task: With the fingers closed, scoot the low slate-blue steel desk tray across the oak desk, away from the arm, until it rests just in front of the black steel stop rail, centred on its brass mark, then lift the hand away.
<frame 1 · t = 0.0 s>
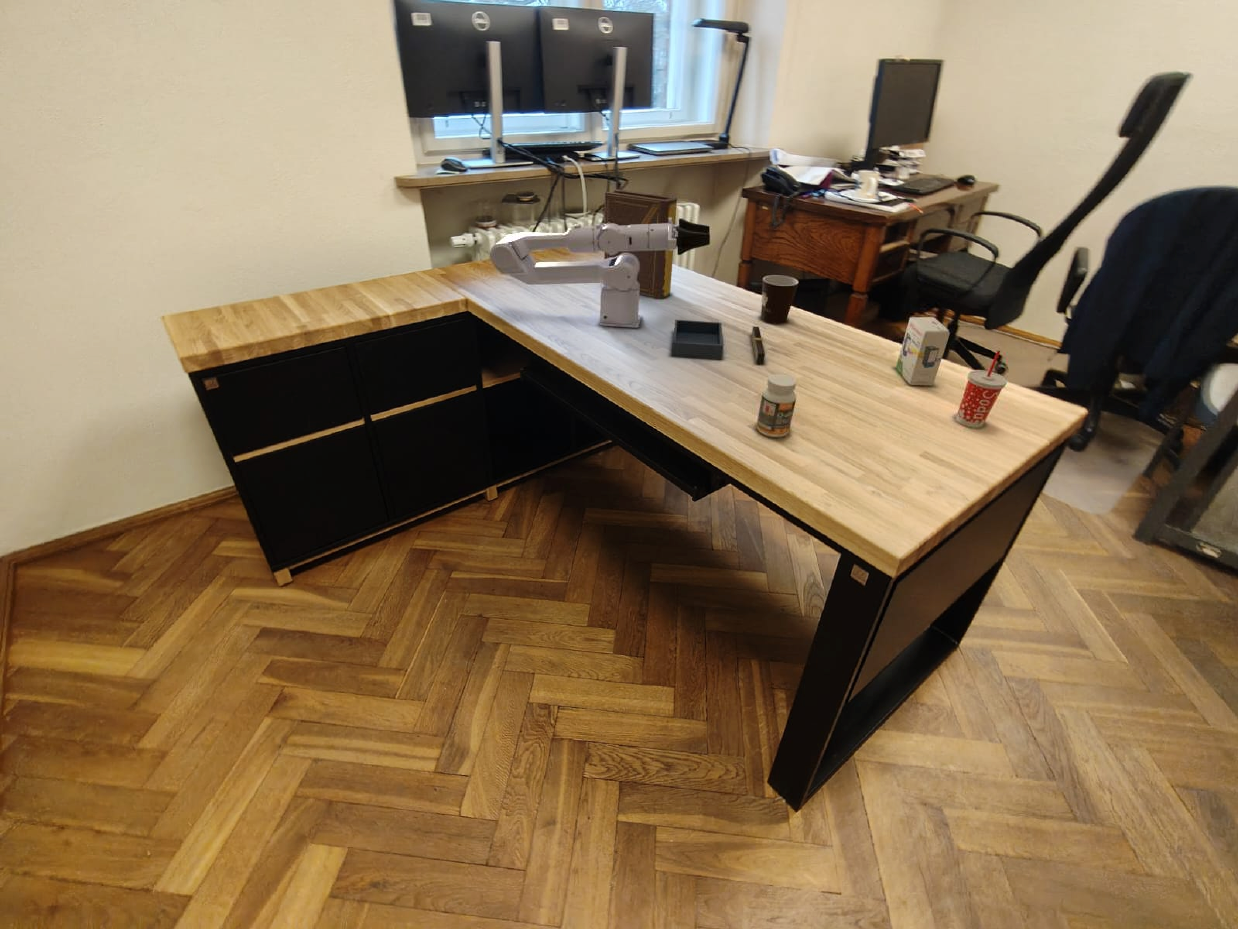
hand: (709, 235, 132), 22 cm above the table, tool horizontal, fingers open, 7 cm apart
pill bottle: (772, 431, 104), on the table
ink box: (912, 377, 124), on the table
book: (633, 289, 167), on the table
beverage cup: (968, 422, 108), on the table
tray: (696, 345, 135), on the table
coffee mug: (773, 318, 151), on the table
stop rail: (756, 349, 133), on the table
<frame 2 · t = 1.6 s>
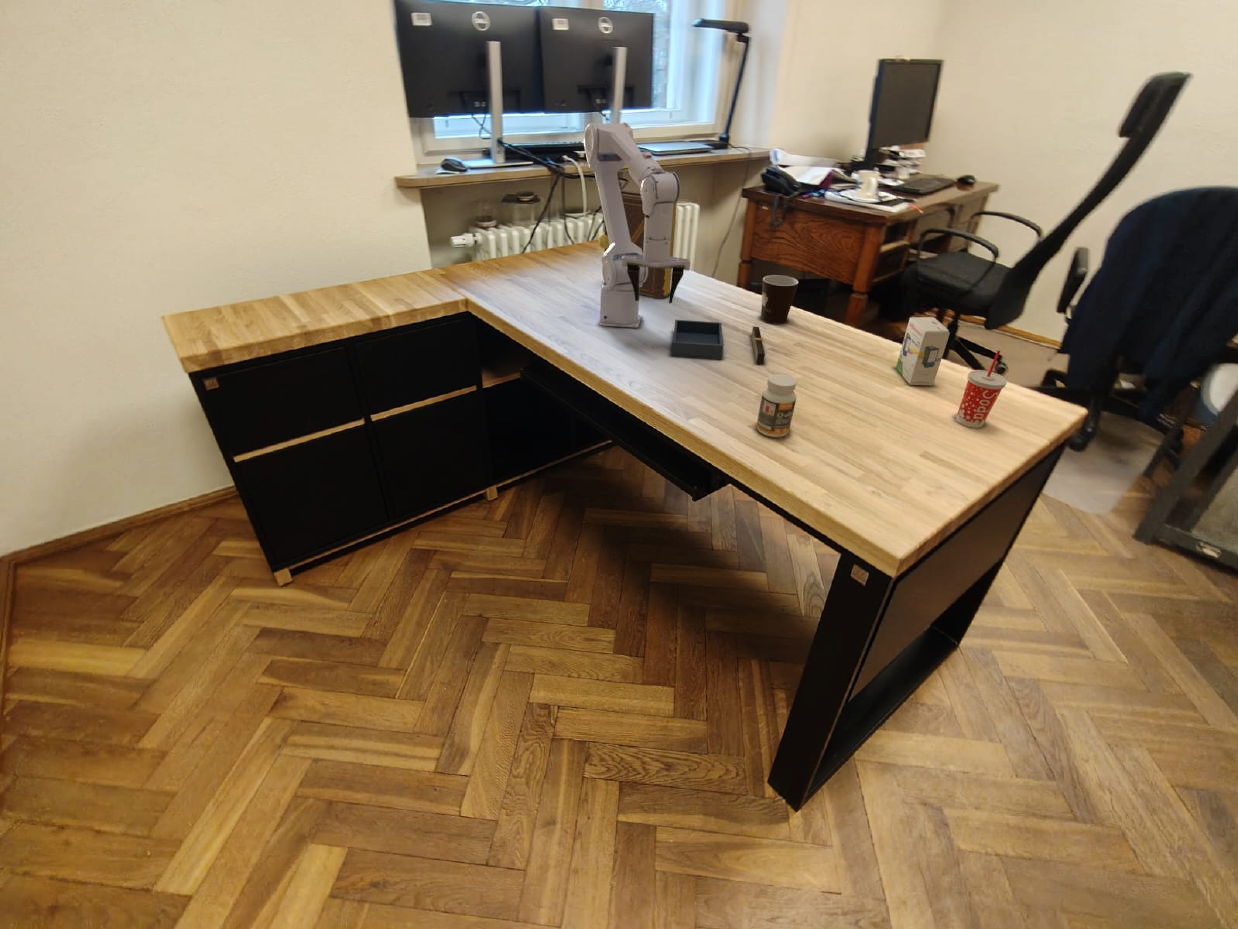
hand: (653, 300, 130), 10 cm above the table, tool pointing down, fingers open, 7 cm apart
nothing on the table moved.
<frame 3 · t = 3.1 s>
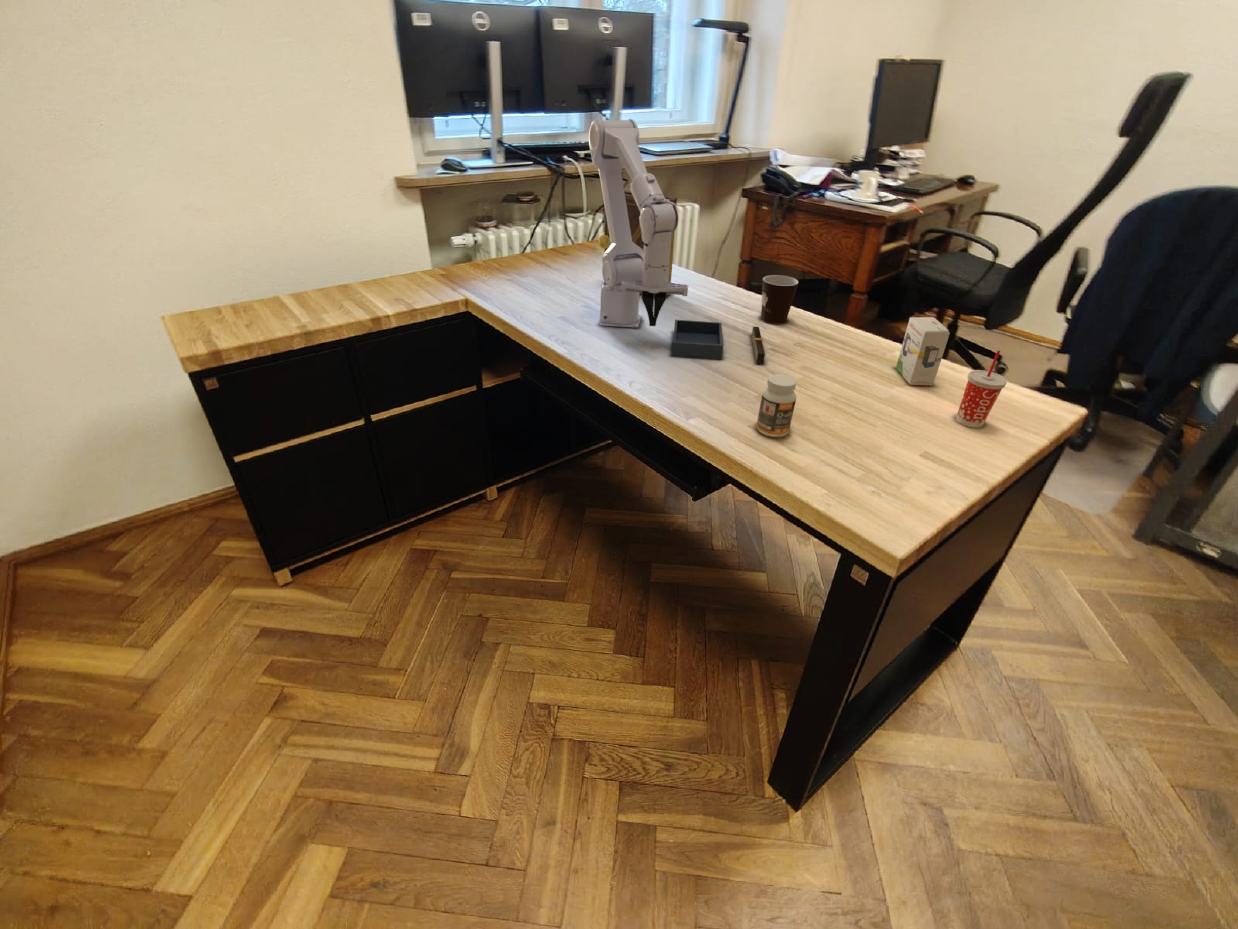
hand: (652, 324, 133), 4 cm above the table, tool pointing down, fingers closed
nothing on the table moved.
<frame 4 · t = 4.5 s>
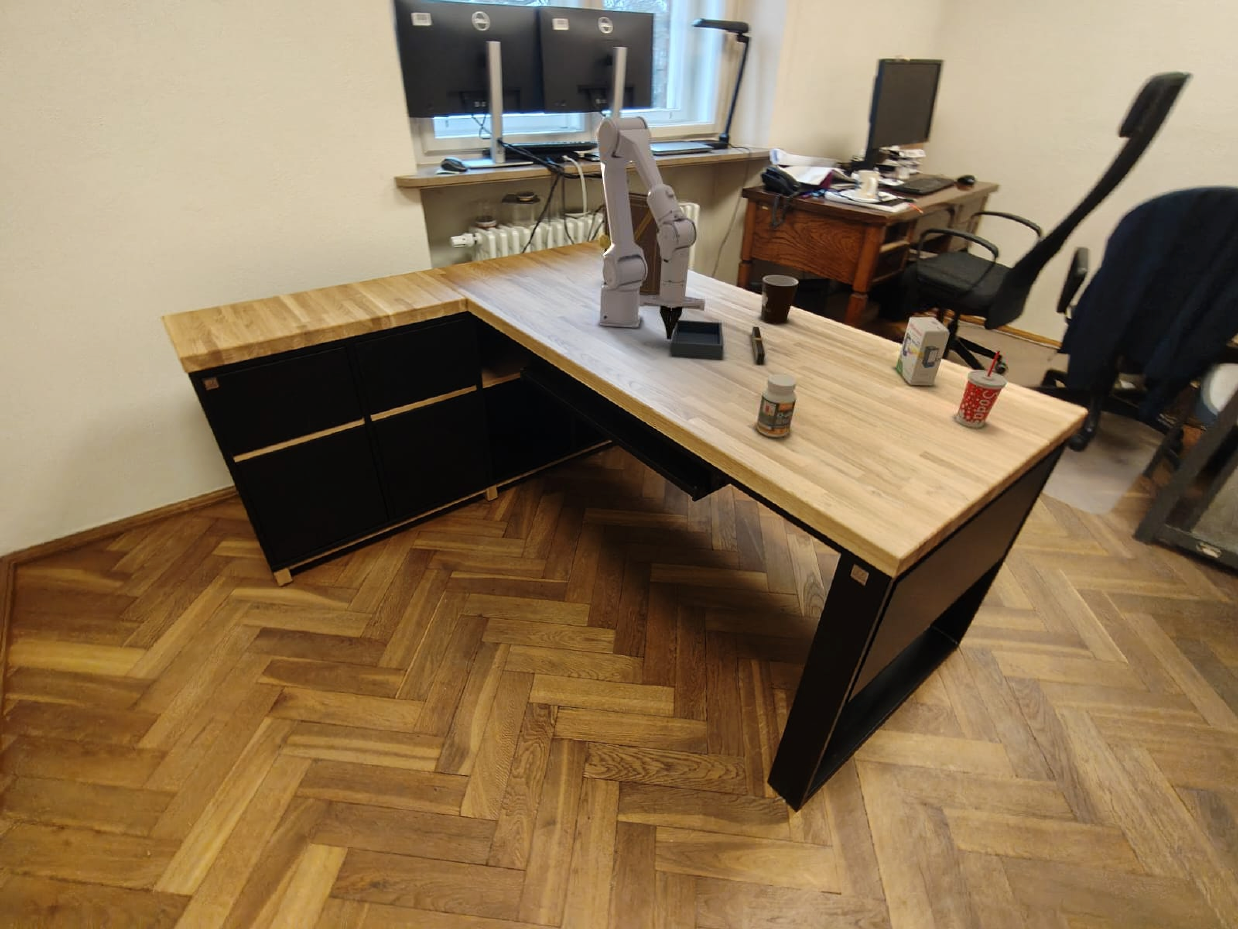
hand: (669, 337, 134), 1 cm above the table, tool pointing down, fingers closed
tray: (696, 345, 135), on the table, touching gripper
everything else where it was.
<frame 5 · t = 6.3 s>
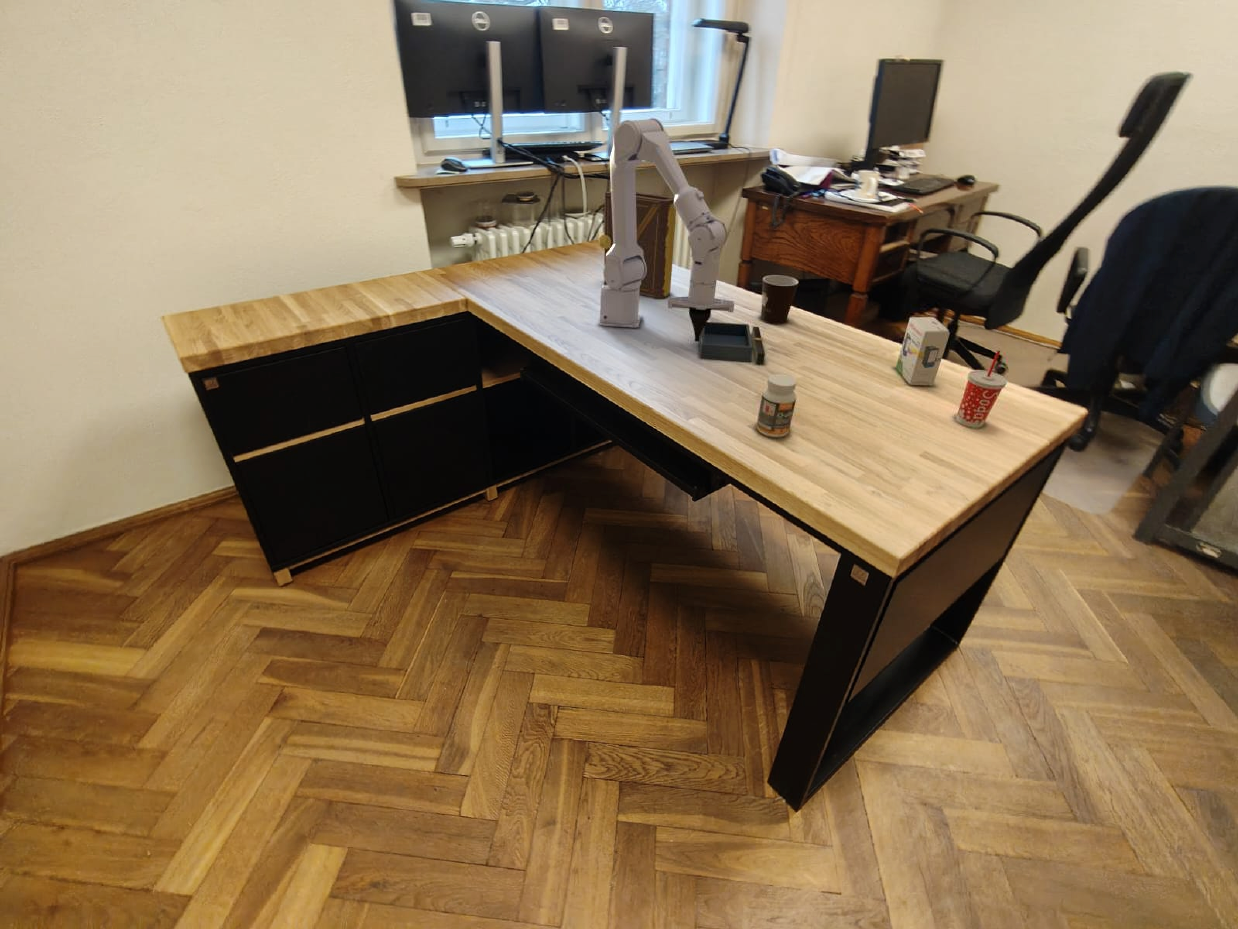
hand: (696, 339, 134), 1 cm above the table, tool pointing down, fingers closed
tray: (724, 347, 134), on the table, touching gripper
everything else where it was.
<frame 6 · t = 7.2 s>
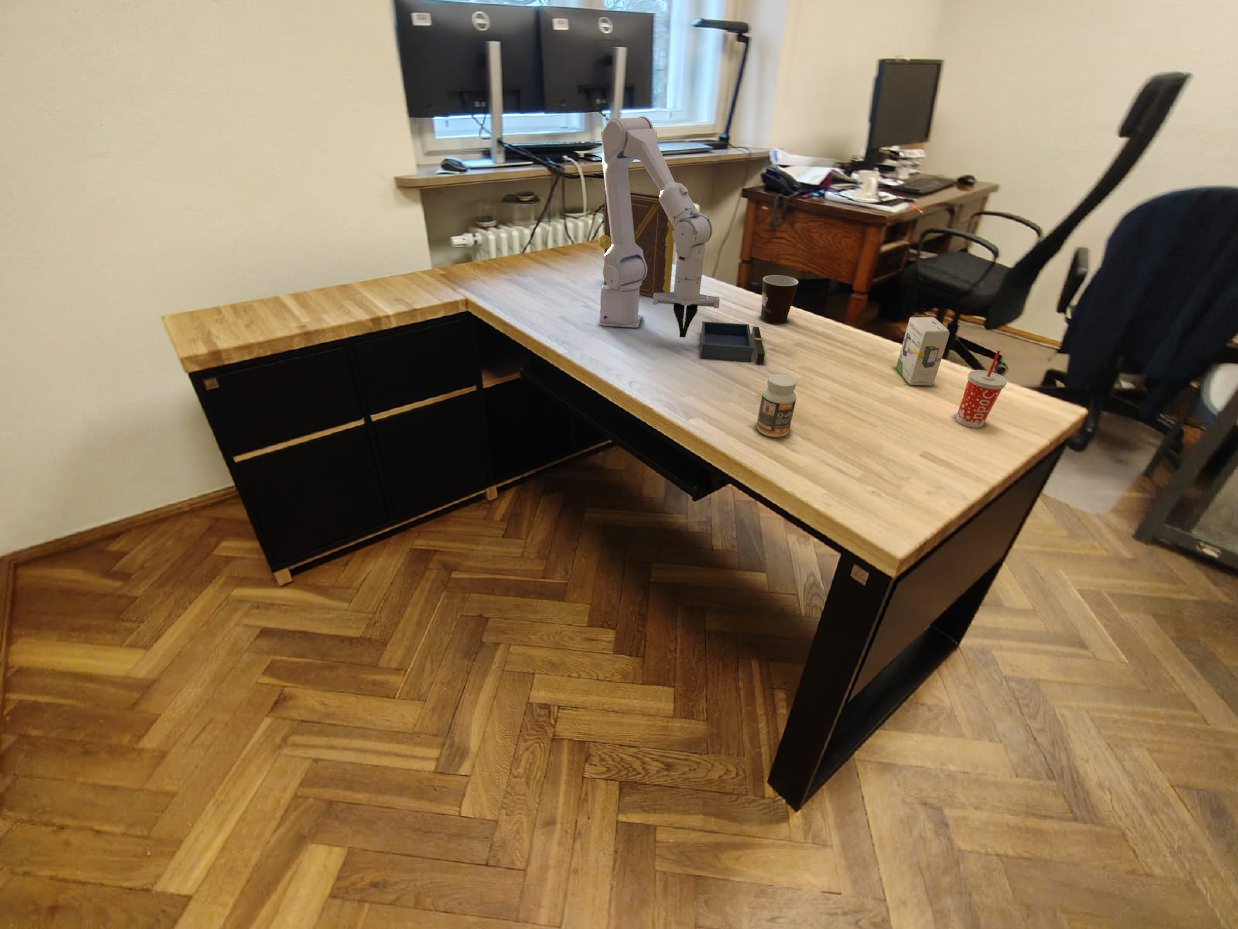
hand: (682, 335, 134), 2 cm above the table, tool pointing down, fingers closed
tray: (724, 347, 134), on the table
everything else where it was.
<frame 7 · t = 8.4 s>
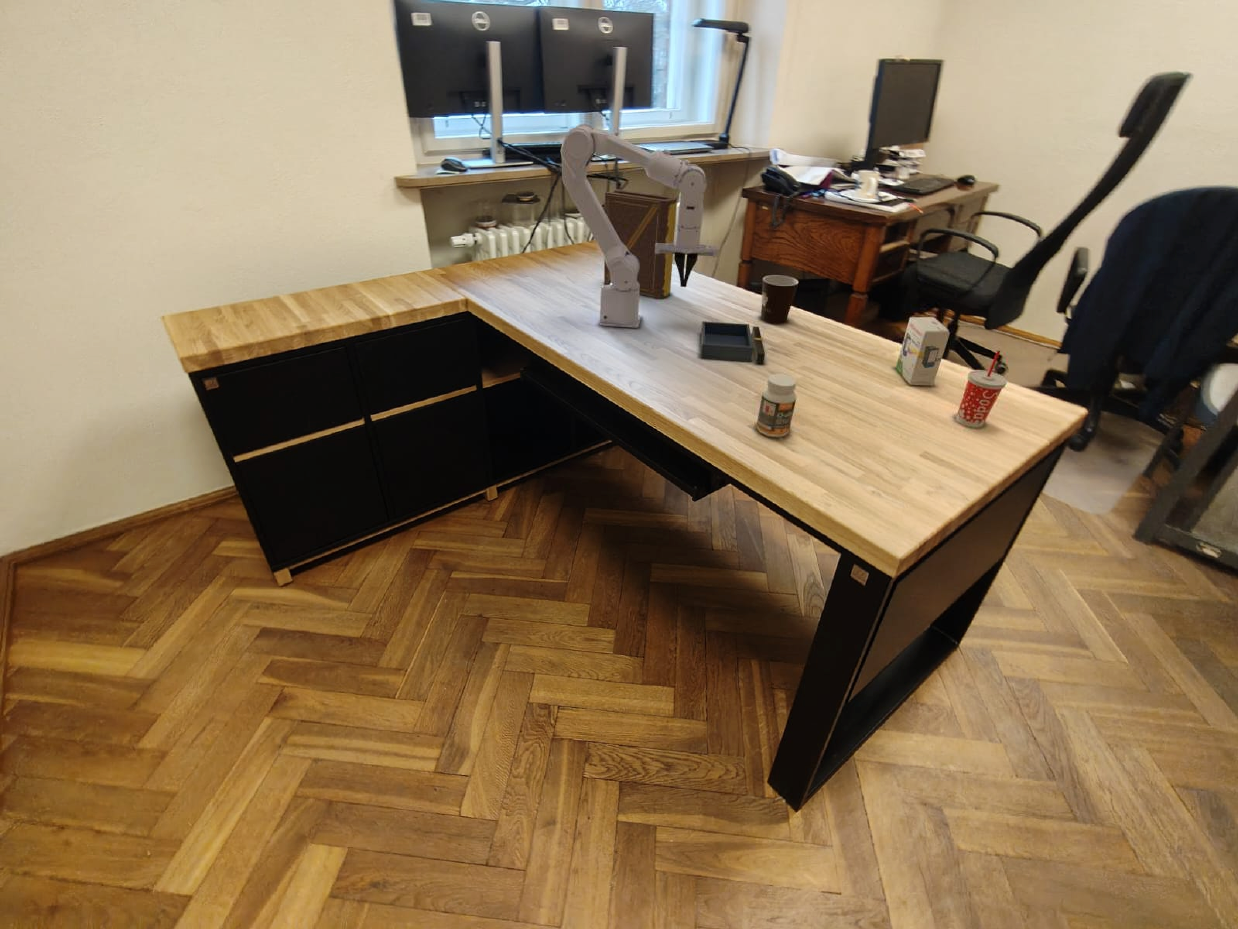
hand: (683, 285, 139), 10 cm above the table, tool pointing down, fingers closed
nothing on the table moved.
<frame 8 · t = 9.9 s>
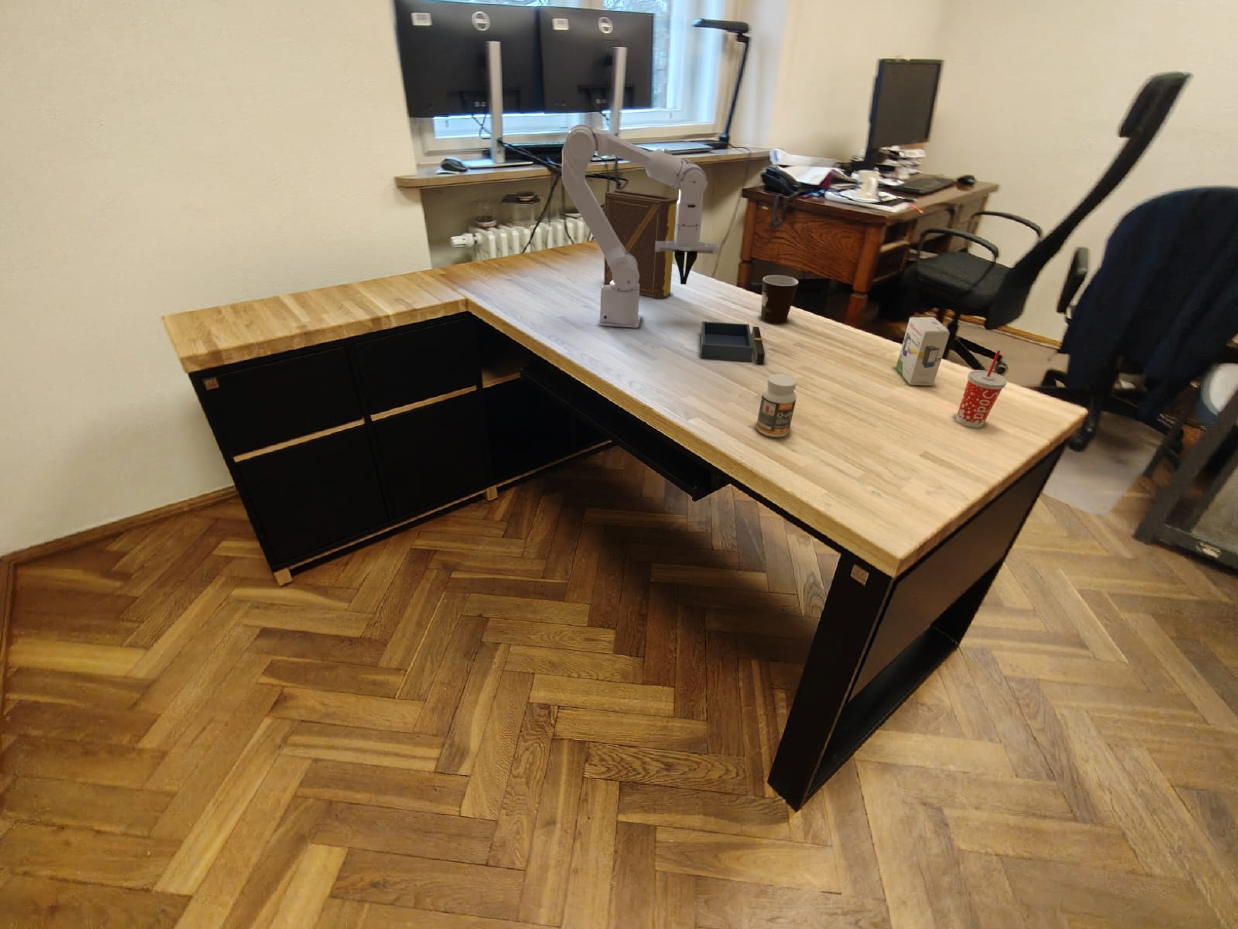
hand: (683, 283, 141), 10 cm above the table, tool pointing down, fingers closed
nothing on the table moved.
at the end: tray 0.1 cm from the target spot on the table beside the stop rail, on the table; tray tilted 0° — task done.
